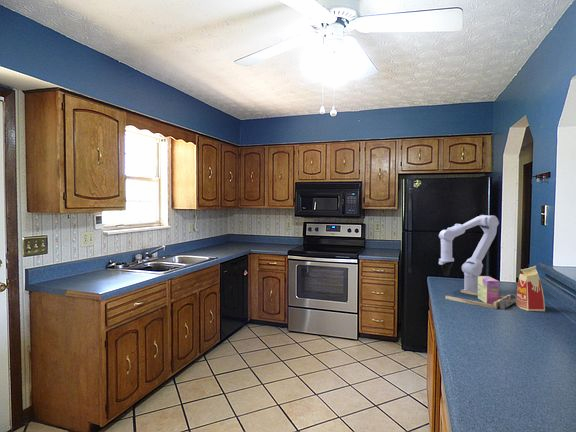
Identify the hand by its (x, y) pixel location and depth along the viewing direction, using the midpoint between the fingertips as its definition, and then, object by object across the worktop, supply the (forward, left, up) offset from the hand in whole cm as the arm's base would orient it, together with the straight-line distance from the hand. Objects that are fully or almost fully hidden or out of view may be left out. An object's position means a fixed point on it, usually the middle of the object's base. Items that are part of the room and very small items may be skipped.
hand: (446, 275), depth 194 cm
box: (+2, +22, -10) cm, 24 cm away
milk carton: (0, +39, -10) cm, 40 cm away
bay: (+3, +19, -9) cm, 21 cm away
